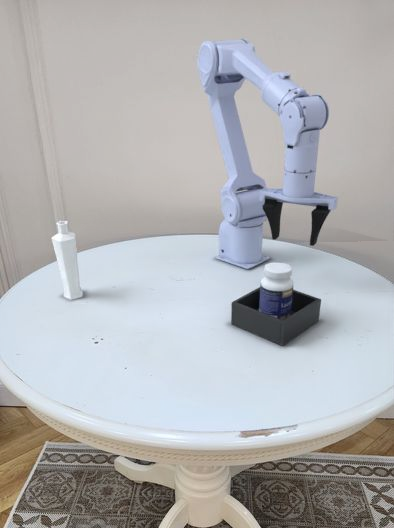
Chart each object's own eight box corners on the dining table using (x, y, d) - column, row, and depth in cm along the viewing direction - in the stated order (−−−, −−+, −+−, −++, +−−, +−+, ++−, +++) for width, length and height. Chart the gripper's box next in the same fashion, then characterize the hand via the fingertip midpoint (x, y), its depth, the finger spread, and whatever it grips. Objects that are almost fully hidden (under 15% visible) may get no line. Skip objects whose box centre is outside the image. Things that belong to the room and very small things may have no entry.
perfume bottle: (90, 294, 107) (80, 221, 99) (72, 302, 104) (60, 228, 96) (76, 287, 110) (65, 216, 102) (58, 295, 107) (45, 222, 99)
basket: (231, 324, 95) (231, 302, 93) (268, 302, 102) (269, 281, 100) (282, 346, 89) (284, 322, 87) (318, 321, 96) (321, 299, 93)
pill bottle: (286, 328, 93) (290, 276, 88) (254, 323, 95) (257, 271, 89) (293, 313, 97) (298, 263, 92) (263, 308, 99) (266, 258, 94)
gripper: (345, 168, 97) (336, 239, 104) (270, 160, 102) (267, 229, 110) (334, 177, 91) (326, 252, 99) (256, 169, 97) (253, 240, 104)
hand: (294, 240), depth 104 cm, fingers open, 7 cm apart
